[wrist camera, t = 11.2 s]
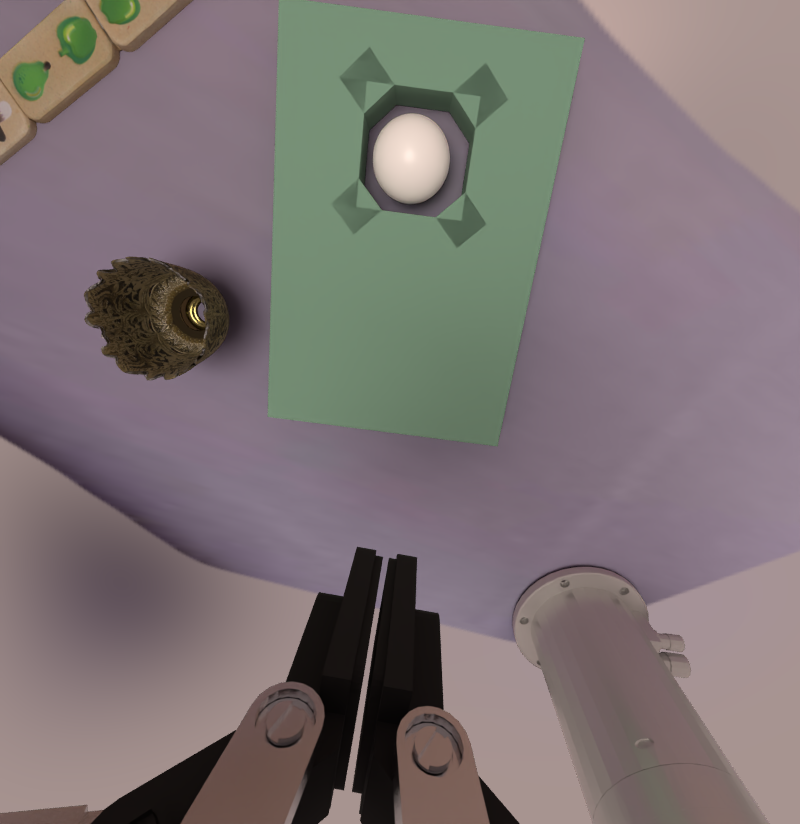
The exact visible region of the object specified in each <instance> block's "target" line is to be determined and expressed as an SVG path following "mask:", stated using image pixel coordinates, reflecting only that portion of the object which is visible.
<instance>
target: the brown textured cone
mask: <svg viewBox="0 0 800 824" xmlns="http://www.w3.org/2000/svg"><path fill="white" fill-rule="evenodd" d="M111 264H112V266H113V268H114V269H110V270H98V271H97V275H98V278H99V279H100V281H99V282H98V283H96V284H94V285H92V286H91V287H90V288H88V289H87V291H86V292H85V293H84V297H85V301H86V303H87V305H88V307H89V308H90V311H91V312H89V313H87V314H86V316H85V322H86V323H87V324H88V325H89V326H91V327H94V328H98V327H100V328H98V329H101V331H102V334H101V337H102V338H104V339H105V340H106V342H107V345H106V346H104V347H103V346H102V348H101V350H102V353H103V354H104V355H105V356H107V357H111V358H115V360H116V361H115V362H116V364H117V366H118V367H119V368H120V369H121V370H122V371H123V372H125V373H129V374H137V375H138V374H142V375H146V376H147V377H146V376H145V378H146V379H147V380H154V379H156V378H159V377H162V376H163V377H164V379H165V380H169V379H173V378H176V377H177V376H178V375H179V376H180V375H182V374H184V373H186V372H187V371H189V370H190V369H192V368H193V367H194V366H196V365H197V364H199V363H200V362H202V361H203V360H205V359H206V358H208V357H209V356H210V355H212V354H213V353H214V352H215V351H216V350H217V349H218V348H219V347H220V346H221V344H222V343H223V341H224V339H225V338H226V335H227V332H228V328H229V312H228V308H227V305H226V302H225V300H224V298H223V296H222V295H221V293H220V292H219V290H218V289H217V288H216V287H215V286H214V285H213V284H212V283H211V282H210V281H209V280H207V279H206V278H204V277H203V276H201V275H200V274H198V273H196V272H193V271H191V270H189V269H186V268H183V267H180V266H176V265H173V264H169V263H166V262H162V261H158V260H156V259H153V258H149V259H147V258H143V257H126V259H117V260H113V261H111ZM101 279H102V280H101ZM201 302H202V303H203V304H204V307H205V310H204V311H203V314H204V317H205V322H204V321H202V320H201V319H200V318H199V316H198V314H197V307H198V305H199V304H200V303H201ZM96 326H97V327H96Z"/></svg>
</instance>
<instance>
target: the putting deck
mask: <svg viewBox="0 0 800 824" xmlns="http://www.w3.org/2000/svg"><path fill="white" fill-rule="evenodd" d="M584 39H585V38H580V37H573V36H565V35H558V34H551V33H543V32H536V31H528V30H521V29H514V28H506V27H499V26H491V25H484V24H477V23H469V22H462V21H454V20H447V19H439V18H432V17H425V16H417V15H410V14H402V13H395V12H388V11H380V10H373V9H365V8H358V7H351V6H343V5H336V4H328V3H321V2H314V1H306V0H279V17H278V54H277V91H276V128H275V165H274V202H273V239H272V276H271V314H270V351H269V388H268V417H273V418H281V419H289V420H297V421H304V422H312V423H320V424H328V425H336V426H343V427H351V428H359V429H367V430H374V431H382V432H390V433H398V434H405V435H413V436H421V437H429V438H436V439H444V440H452V441H460V442H467V443H475V444H483V445H491V446H498V441H499V437H500V432H501V427H502V423H503V418H504V413H505V409H506V404H507V399H508V395H509V390H510V385H511V381H512V376H513V371H514V367H515V362H516V357H517V353H518V348H519V343H520V339H521V334H522V329H523V325H524V320H525V315H526V311H527V306H528V301H529V296H530V292H531V287H532V282H533V278H534V273H535V268H536V264H537V259H538V254H539V250H540V245H541V240H542V236H543V231H544V226H545V222H546V217H547V212H548V208H549V203H550V198H551V194H552V189H553V184H554V180H555V175H556V170H557V166H558V161H559V156H560V152H561V147H562V142H563V137H564V133H565V128H566V123H567V119H568V114H569V109H570V105H571V100H572V95H573V91H574V86H575V81H576V77H577V72H578V67H579V63H580V58H581V53H582V49H583V44H584ZM396 105H402V106H409V107H417V108H424V109H432V110H439V111H447V112H450V114H451V116H452V117H453V119H454V120H455V122H456V123H457V125H458V127H459V128H460V130H461V131H462V133H463V134H464V136H465V137H466V139H467V141H468V142H469V150H468V156H467V163H466V169H465V176H464V182H463V189H462V196H461V197H460V198H458V199H457V200H456V201H455V202H454V203H452V204H451V205H450V206H449V207H448V208H446V209H445V210H444V211H443V212H442V213H441V214H439V215H438V216H437V217H428V216H421V215H413V214H406V213H398V212H391V211H383V210H381V209H380V207H379V206H378V204H377V203H376V202H375V200H374V199H373V197H372V196H371V195H370V193H369V192H368V191H367V189H366V188H365V186H364V184H365V172H366V161H367V149H368V138H369V130H370V129H371V128H372V127H373V126H374V125H375V124H376V123H378V122H379V121H380V120H381V119H382V118H383V117H384V116H385V115H386V114H387V113H388V112H389V111H390V110H391V109H392V108H394V107H395V106H396Z"/></svg>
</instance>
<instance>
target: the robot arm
mask: <svg viewBox="0 0 800 824" xmlns="http://www.w3.org/2000/svg"><path fill="white" fill-rule="evenodd" d="M382 560H383V557H380V556H376V550H372V549H367V548H361V547H357V549H356V553H355V556H354V560H353V564H352V567H351V571H350V575H349V578H348V582H347V586H346V589H345V593H344V597H343V596H338V595H332V594H326V593H321V592H319V593H318V595H317V598H316V600H315V603H314V606H313V609H312V611H311V614H310V617H309V620H308V622H307V625H306V628H305V630H304V633H303V636H302V639H301V641H300V644H299V647H298V650H297V653H296V655H295V658H294V661H293V664H292V667H291V669H290V672H289V675H288V677H287V680H286V682H284V683H279V684H276V685H274V686H271V687H269V688H268V689H266V690H265V691H264V692H262V693H261V694H260V695H259V696H258V697H257V698H256V700H255V701H254V702H253V704H252V705H251V707H250V708H249V710H248V711H247V713H246V715H245V717H244V718H243V720H242V722H241V723H240V725H239V727H238V728H237V730H235V731H233V732H232V733H230V734H229V735H227V736H225V737H223V738H221V739H220V740H218V741H216V742H215V743H213V744H211V745H210V746H208V747H206V748H205V749H203V750H201V751H199V752H198V753H196V754H194V755H193V756H191V757H189V758H187V759H186V760H184V761H183V762H181V763H179V764H177V765H175V766H174V767H172V768H170V769H169V770H167V771H165V772H164V773H162V774H160V775H158V776H157V777H155V778H153V779H152V780H150V781H148V782H147V783H145V784H143V785H141V786H140V787H138V788H136V789H135V790H133V791H131V792H130V793H128V794H126V795H124V796H123V797H121V798H119V799H118V800H117V801H115V802H114V803H113V804H111V805H110V806H109V807H107V808H106V809H104V810H99V811H90V812H88V807H87V805H79V806H69V807H59V808H50V809H38V810H28V811H18V812H8V813H0V824H318V823H319V822H320V821H321V820H323V819H324V818H325V817H326V816H327V815H328V813H329V808H330V807H331V801H332V796H333V790H334V789H340V790H344V786H345V781H346V775H347V769H348V763H349V758H350V752H351V746H352V740H353V734H354V729H355V723H356V717H357V711H358V705H359V700H360V694H361V688H362V682H363V676H364V670H365V664H366V658H367V651H368V646H369V639H370V633H371V627H372V621H373V614H374V609H375V603H376V597H377V590H378V584H379V578H380V572H381V566H382ZM416 573H417V557H412V556H407V555H401V554H397V559H392V558H389V561H388V567H387V573H386V578H385V584H384V590H383V595H382V601H381V606H380V612H379V618H378V623H377V630H376V635H375V641H374V647H373V654H372V661H371V667H370V675H369V680H368V687H367V694H366V701H365V707H364V714H363V721H362V728H361V734H360V741H359V748H358V755H357V761H356V768H355V775H354V782H353V789H352V792H356V793H361V794H362V795H361V804H360V811H359V814H361V819H360V821H361V823H362V824H519V822H518V821H517V820H516V819H515V818H514V817H513V816H512V814H511V813H510V812H509V811H508V810H507V808H506V807H505V806H504V805H503V804H502V803H501V801H500V800H499V799H498V798H497V797H496V796H495V794H494V793H493V792H492V791H491V790H490V789H489V787H488V786H487V785H486V784H485V783H484V782H483V781H482V779H481V778H480V777H479V776H478V772H477V768H476V764H475V760H474V756H473V751H472V747H471V743H470V741H469V738H468V735H467V733H466V731H465V729H464V728H463V727H462V725H461V724H460V723H459V721H458V720H457V719H455V718H454V717H453V716H452V715H451V714H450V713H448V712H446V711H444V710H443V686H442V664H441V641H440V619H439V614H438V613H434V612H428V611H422V610H417V609H415V604H416ZM648 621H649V620H648V611H647V607H646V604H645V602H644V600H643V599H642V597H641V595H640V594H639V593H638V591H637V590H636V589H635V588H634V586H633V585H632V584H631V583H630V582H629V581H627V580H626V579H625V578H624V577H622V576H620V575H618V574H616V573H614V572H612V571H608V570H605V569H602V568H595V567H573V568H568V569H563V570H560V571H557V572H554V573H551V574H549V575H547V576H545V577H543V578H542V579H540V580H538V581H537V582H536V583H534V584H533V585H532V586H531V587H529V588H528V590H527V591H526V592H525V593H524V594H523V595H522V596H521V598H520V600H519V602H518V603H517V605H516V608H515V611H514V614H513V623H512V626H513V632H514V636H515V639H516V642H517V646H518V647H519V649H520V651H521V652H522V654H523V655H524V656H525V657H526V658H527V660H529V662H531V663H532V664H533V665H535V666H536V667H538V668H540V669H542V671H543V674H544V677H545V680H546V683H547V686H548V689H549V692H550V695H551V698H552V702H553V705H554V708H555V711H556V714H557V717H558V720H559V723H560V726H561V729H562V732H563V735H564V738H565V741H566V744H567V747H568V750H569V753H570V756H571V759H572V762H573V765H574V768H575V772H576V775H577V778H578V781H579V784H580V787H581V790H582V793H583V796H584V799H585V802H586V804H587V808H588V811H589V814H590V817H591V820H592V823H593V824H770V823H769V822H768V820H767V818H766V817H765V815H764V814H763V812H762V811H761V809H760V808H759V806H758V805H757V803H756V802H755V800H754V799H753V797H752V796H751V794H750V793H749V791H748V790H747V788H746V787H745V785H744V784H743V782H742V781H741V779H740V778H739V776H738V775H737V773H736V772H735V770H734V768H733V767H732V766H731V764H730V762H729V761H728V759H727V758H726V756H725V755H724V753H723V752H722V750H721V749H720V747H719V746H718V744H717V742H716V741H715V739H714V738H713V736H712V735H711V733H710V732H709V730H708V729H707V727H706V726H705V724H704V723H703V721H702V720H701V718H700V716H699V715H698V713H697V712H696V710H695V709H694V707H693V706H692V704H691V703H690V702H689V700H688V698H687V697H686V695H685V694H684V692H683V691H682V689H681V688H680V686H679V684H678V683H677V681H676V680H675V678H674V677H681V678H688V677H689V676H690V672H691V668H690V664H689V661H688V660H687V658H686V657H685V656H684V655H682V654H675V653H667V652H661V653H659V651H660V649H666V650H671V651H678V652H683V651H684V648H685V644H684V641H683V639H682V637H681V636H679V635H672V634H658V633H657V632H656V631H655V630H653V628H652V627H651V626H650V624H649V622H648Z"/></svg>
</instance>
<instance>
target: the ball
mask: <svg viewBox="0 0 800 824" xmlns="http://www.w3.org/2000/svg"><path fill="white" fill-rule="evenodd" d="M449 165H450V152H449V146H448V142H447V139H446V137H445V135H444V133H443V132H442V130H441V129H440V127H439V126H438V125H437V124H436V123H435V122H434V121H433V120H431V119H430V118H428V117H426V116H424V115H420V114H414V113H409V114H404V115H400V116H398V117H396V118H394V119H393V120H391V121H390V122H389V123H388V124H387V125H386V126H385V127H384V128H383V129H382V130H381V132H380V134H379V136H378V138H377V140H376V142H375V146H374V151H373V168H374V173H375V176H376V179H377V181H378V183H379V185H380V186H381V188H382V189H383V190H384V192H385V193H386V194H387V195H388V196H390V197H391V198H392V199H394V200H396V201H398V202H401V203H405V204H416V203H421V202H424V201H426V200H428V199H429V198H431V197H432V196H433V195H435V194H436V193H437V192H438V190H439V189H440V188H441V186H442V185H443V183H444V181H445V179H446V177H447V174H448V170H449Z"/></svg>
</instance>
